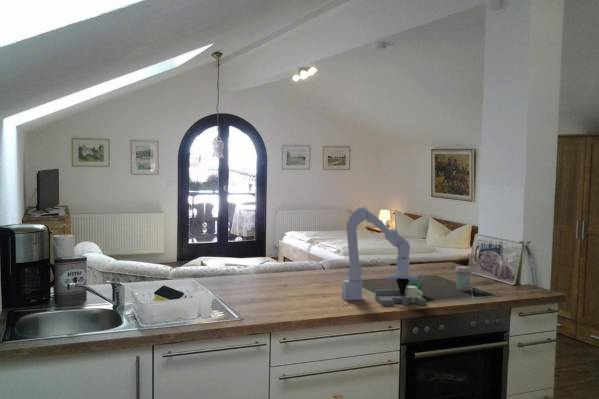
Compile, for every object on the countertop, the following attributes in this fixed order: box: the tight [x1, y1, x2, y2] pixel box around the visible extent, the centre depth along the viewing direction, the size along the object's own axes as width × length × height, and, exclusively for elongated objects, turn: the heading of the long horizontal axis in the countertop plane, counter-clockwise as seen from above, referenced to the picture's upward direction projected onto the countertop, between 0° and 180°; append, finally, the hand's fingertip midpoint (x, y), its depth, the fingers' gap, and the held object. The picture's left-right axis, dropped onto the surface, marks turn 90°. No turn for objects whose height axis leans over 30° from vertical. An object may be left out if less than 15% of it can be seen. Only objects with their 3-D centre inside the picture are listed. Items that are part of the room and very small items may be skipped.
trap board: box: [374, 288, 427, 307], centre depth 264 cm, size 21×11×5 cm, turn 98°
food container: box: [407, 274, 425, 292], centre depth 278 cm, size 12×6×10 cm, turn 101°
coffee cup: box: [454, 265, 473, 292], centre depth 294 cm, size 9×8×12 cm
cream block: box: [405, 286, 418, 297], centre depth 267 cm, size 4×4×4 cm
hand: (401, 294), depth 266 cm, fingers closed
